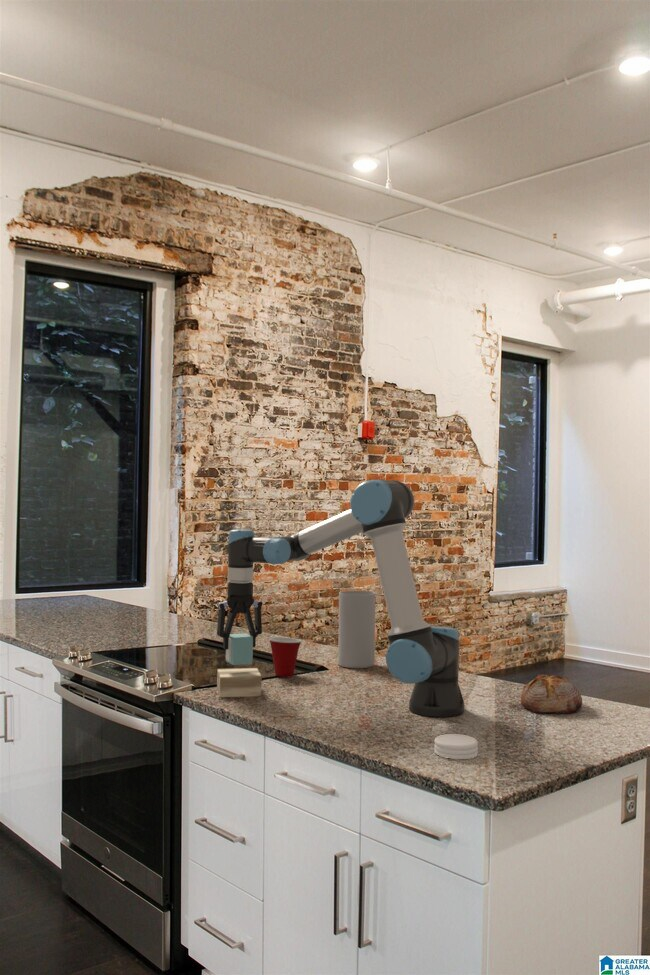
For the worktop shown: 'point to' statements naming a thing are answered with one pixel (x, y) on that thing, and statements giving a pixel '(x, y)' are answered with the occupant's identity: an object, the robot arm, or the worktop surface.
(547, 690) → the bread
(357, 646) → the cylinder vase
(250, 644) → the teal block
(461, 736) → the coaster
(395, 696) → the worktop surface
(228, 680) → the birch block
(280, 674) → the plastic cup
